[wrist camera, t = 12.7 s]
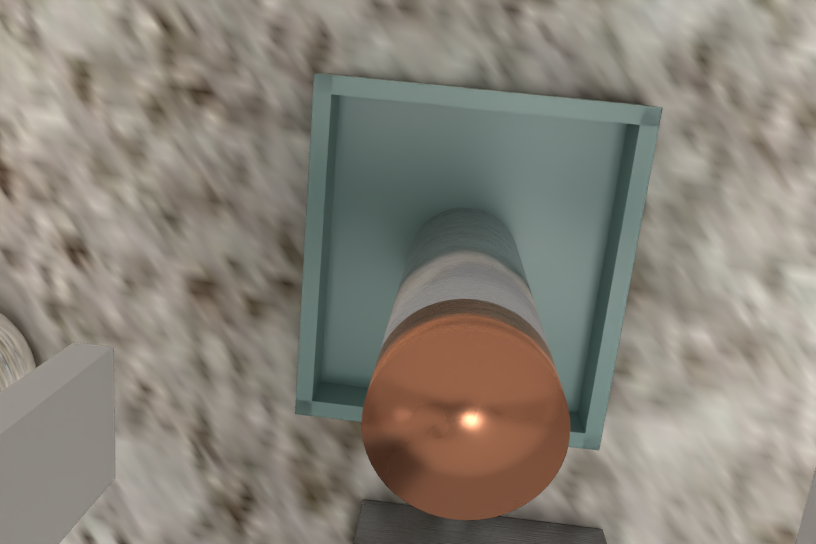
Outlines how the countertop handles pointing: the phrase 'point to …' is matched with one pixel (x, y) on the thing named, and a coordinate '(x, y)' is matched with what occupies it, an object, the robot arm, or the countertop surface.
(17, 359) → the water bottle
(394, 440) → the pin
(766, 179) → the countertop surface
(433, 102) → the tray
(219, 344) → the countertop surface
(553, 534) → the block
